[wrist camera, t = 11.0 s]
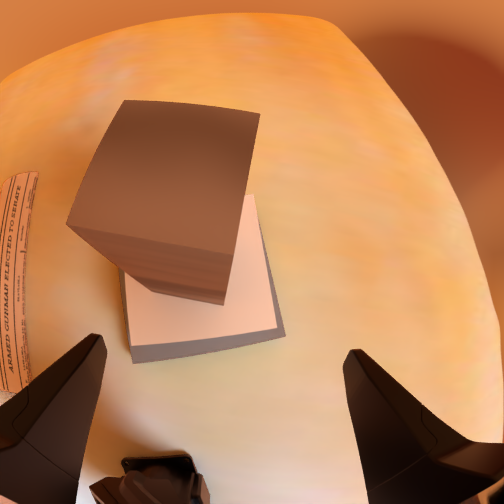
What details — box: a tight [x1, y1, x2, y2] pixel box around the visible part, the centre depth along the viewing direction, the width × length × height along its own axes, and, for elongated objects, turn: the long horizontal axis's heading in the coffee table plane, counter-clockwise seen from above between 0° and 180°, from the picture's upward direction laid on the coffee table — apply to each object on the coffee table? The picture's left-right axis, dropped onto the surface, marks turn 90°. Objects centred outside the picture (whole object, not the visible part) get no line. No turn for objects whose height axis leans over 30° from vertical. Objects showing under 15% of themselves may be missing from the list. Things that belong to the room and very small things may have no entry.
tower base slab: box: [119, 216, 286, 364], centre depth 22 cm, size 12×12×2 cm
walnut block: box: [66, 100, 260, 306], centre depth 13 cm, size 5×5×12 cm
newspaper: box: [0, 172, 39, 393], centre depth 20 cm, size 24×7×2 cm, turn 9°
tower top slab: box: [125, 194, 277, 346], centre depth 20 cm, size 10×10×2 cm
